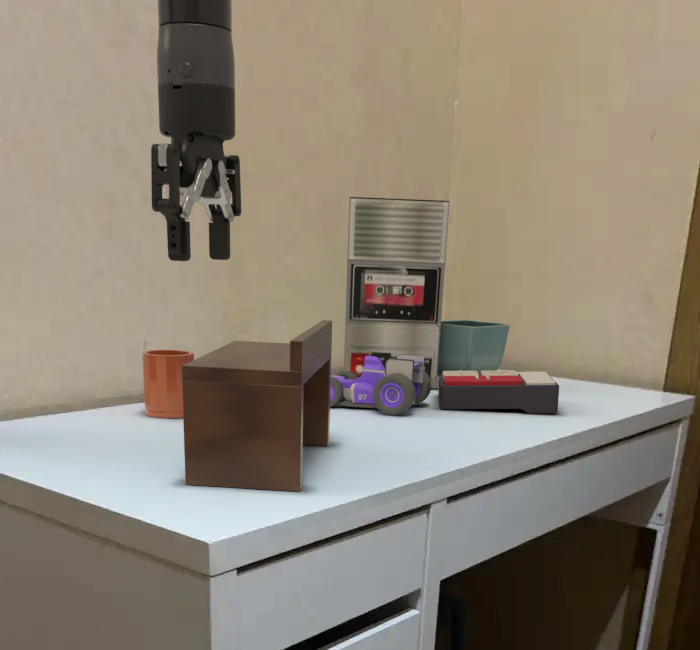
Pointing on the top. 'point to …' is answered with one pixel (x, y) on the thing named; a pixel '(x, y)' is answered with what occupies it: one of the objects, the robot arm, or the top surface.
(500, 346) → the flower pot
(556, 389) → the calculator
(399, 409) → the toy race car
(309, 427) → the brown wooden bench
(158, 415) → the pot
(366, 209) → the cassette tape recorder
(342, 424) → the top surface
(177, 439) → the top surface
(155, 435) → the top surface
